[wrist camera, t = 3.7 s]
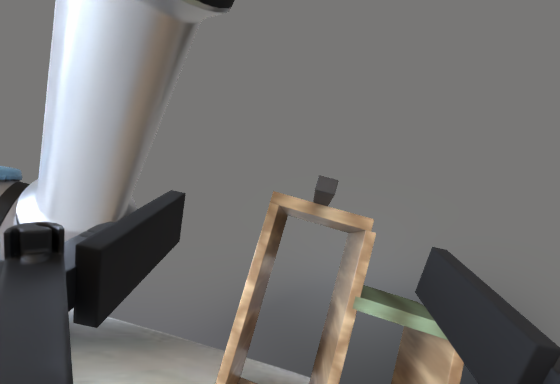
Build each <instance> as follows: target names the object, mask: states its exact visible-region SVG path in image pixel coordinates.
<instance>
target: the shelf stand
mask: <svg viewBox="0 0 560 384" xmlns="http://www.w3.org/2000/svg"><path fill="white" fill-rule="evenodd" d="M288 215H289V216H292V217H296V218H299V219H302V220H306V221H310V222H313V223H316V224H320V225H323V226H326V227H330V228H333V229H337V230H340V231H344V232H347V233H348V237H347V240H346V244H345V248H344V252H343V256H342V260H341V263H340V267H339V271H338V275H337V279H336V282H335V287H334V290H333V294H332V298H331V302H330V306H329V309H328V313H327V317H326V321H325V325H324V328H323V332H322V336H321V340H320V344H319V348H318V351H317V355H316V359H315V363H314V367H313V370H312V374H311V378H310V382H309V384H339V380H340V377H341V373H342V369H343V364H344V360H345V356H346V353H347V349H348V345H349V341H350V336H351V332H352V329H353V325H354V320H355V316H356V312H357V310H358V311H360V312H363V313H366V314H370V315H373V316H376V317H379V318H382V319H385V320H388V321H391V322H394V323H397V324H400V325H403V326H404V330H403V334H402V338H401V342H400V347H399V351H398V356H397V360H396V365H395V369H394V374H393V378H392V382H391V384H460V380H461V375H462V370H463V364H464V362H463V361H462V359H461V358H460V357H459V355H458V354H457V352H456V351H455V349H454V348H453V346H452V345H451V344H450V342H449V341H448V339H447V338H446V336H445V335H444V333H443V332H442V331H441V329H440V328H439V326H438V325H437V323H436V322H435V320H434V319H433V318H432V316H431V315H430V313H429V312H428V310H427V309H426V307H425V306H423V305H422V304H420V303H418V302H415V301H413V300H409V299H406V298H403V297H400V296H397V295H393V294H390V293H387V292H384V291H381V290H377V289H374V288H371V287H368V286H365V285H363V284H364V280H365V276H366V272H367V268H368V264H369V260H370V256H371V252H372V248H373V244H374V240H375V236H376V233H373V232H371V230H372V226H373V222H374V219H371V218H367V217H364V216H360V215H356V214H353V213H349V212H346V211H342V210H339V209H335V208H332V207H328V206H324V205H321V204H317V203H314V202H310V201H307V200H303V199H299V198H296V197H292V196H289V195H285V194H281V193H278V192H273V194H272V198H271V201H270V204H269V208H268V211H267V214H266V218H265V221H264V224H263V228H262V231H261V234H260V238H259V241H258V244H257V247H256V251H255V254H254V258H253V261H252V264H251V268H250V271H249V274H248V277H247V280H246V284H245V287H244V291H243V294H242V297H241V300H240V304H239V307H238V310H237V314H236V317H235V321H234V323H233V327H232V330H231V334H230V337H229V340H228V343H227V347H226V350H225V353H224V357H223V360H222V363H221V366H220V370H219V373H218V376H217V380H216V383H215V384H257V383H254V382H251V381H249V380H246V379H244V378H241V374H242V370H243V367H244V363H245V360H246V357H247V353H248V350H249V346H250V343H251V339H252V336H253V333H254V329H255V326H256V322H257V319H258V316H259V312H260V309H261V305H262V302H263V298H264V295H265V292H266V288H267V285H268V281H269V278H270V274H271V271H272V267H273V264H274V261H275V257H276V254H277V251H278V247H279V244H280V240H281V237H282V233H283V230H284V227H285V223H286V220H287V216H288Z"/></svg>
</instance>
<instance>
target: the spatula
mask: <svg viewBox="0 0 560 384" xmlns="http://www.w3.org/2000/svg"><path fill="white" fill-rule="evenodd" d="M337 184H338V180H335V179H331V178H327V177H324V176H319V178H318V181H317V185H316V188H315V194H314V203H317V204H321V205H324V206H328V205H329V203H330V202H331V200H332V198H333V196H334V195H335V191H336V188H337Z"/></svg>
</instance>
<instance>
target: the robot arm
mask: <svg viewBox="0 0 560 384" xmlns="http://www.w3.org/2000/svg"><path fill="white" fill-rule="evenodd" d="M233 2H234V0H56V3H55V13H54V24H53V34H52V45H51V55H50V66H49V76H48V86H47V96H46V107H45V116H44V127H43V137H42V147H41V148H42V149H41V158H40V168H39V179H37V180H36V181H34V182H33V183H31V184H26V183H22V182H20V180H22V175H21V171H20V170H19V169H15V168H10V167H4V166H0V384H73V377H72V362H71V347H70V332H69V317H68V312H69V311H70V310H71V309H72V308H73V307H74V319H73V323H77V324H81V325H86V326H91V327H95V328H97V327H98V326H99V325H100V324H101V323H102V322H103V321H104V320H105V319H106V318H107V317H108V316H109V315H110V314H111V313H112V312H113V310H114V309H115V308H116V307H117V306H118V305H119V304H120V303H121V302H122V301H123V300H124V299H125V298H126V297H127V296H128V295H129V294H130V293H131V292H132V290H133V289H134V288H135V287H136V286H137V285H138V284H139V283H140V282H141V281H142V280H143V279H144V278H145V277H146V276H147V275H148V273H150V272H151V270H152V269H153V268H154V267H155V266H156V265H157V264H158V263H159V262H160V261H161V260H162V259H163V258H164V257H165V256H166V255H167V254H168V252H169V251H170V250H171V249H172V248H173V247H174V246H175V245H176V244H177V243H178V242H179V240H180V232H181V224H182V217H183V208H184V201H185V193H182V192H177V191H172V190H171V191H169V192H167V193H165V194H164V195H162V196H160V197H158V198H157V199H155V200H153V201H151V202H150V203H148V204H146V205H144V206H143V207H141V208H139V209H137V208H136V205H135V202H134V199H133V198H132V193H133V191H134V188H135V185H136V183H137V180H138V178H139V175H140V173H141V170H142V168H143V165H144V163H145V160H146V157H147V155H148V153H149V150H150V148H151V145H152V143H153V140H154V138H155V135H156V133H157V130H158V128H159V125H160V123H161V120H162V118H163V115H164V113H165V110H166V108H167V105H168V103H169V100H170V98H171V95H172V92H173V90H174V87H175V85H176V82H177V80H178V77H179V75H180V72H181V70H182V67H183V65H184V62H185V60H186V57H187V55H188V52H189V50H190V47H191V45H192V42H193V40H194V37H195V35H196V32H197V30H198V27H199V25H200V22H201V21H202V20H204V19H205V18H208V17H212V16H216V15H220V14H223V13H227V12H229V10H230V9H231V7H232V5H233ZM415 293H416V294H417V296H418V297H419V299H420V300H421V301H422V303H423V304H424V306H425V307H426V309H427V310H428V312H429V313H430V315H431V316H432V318H433V319H434V320H435V322H436V323H437V325H438V326H439V328H440V329H441V331H442V332H443V333H444V335H445V336H446V338H447V339H448V341H449V342H450V344H451V345H452V346H453V348H454V349H455V351H456V352H457V354H458V355H459V357H460V358H461V359H462V361H463V362H464V364H465V365H466V367H467V368H468V370H469V371H470V372H471V374H472V375H473V377H474V378H475V380H476V381H477V382H478V384H560V347H558V346H557V345H556V344H555V343H554V342H552V341H551V340H550V339H549V338H548V337H547V336H546V335H544V334H543V333H542V332H541V331H540V330H539V329H538V328H536V327H535V326H534V325H533V324H532V323H531V322H529V321H528V320H527V319H526V318H525V317H524V316H522V315H521V314H520V313H519V312H518V311H517V310H515V309H514V308H513V307H512V306H511V305H510V304H509V303H507V302H506V301H505V300H504V299H503V298H502V297H501V296H499V295H498V294H497V293H496V292H495V291H494V290H492V289H491V288H490V287H489V286H488V285H487V284H485V283H484V282H483V281H482V280H481V279H480V278H479V277H477V276H476V275H475V274H474V273H473V272H472V271H470V270H469V269H468V268H467V267H466V266H465V265H463V264H462V263H461V262H460V261H459V260H457V258H455V257H454V256H453V255H452V254H451V253H450V252H448V251H447V250H444V249H440V248H435V247H432V249H431V252H430V255H429V257H428V260H427V262H426V265H425V267H424V270H423V273H422V275H421V278H420V281H419V283H418V286H417V289H416V291H415Z"/></svg>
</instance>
